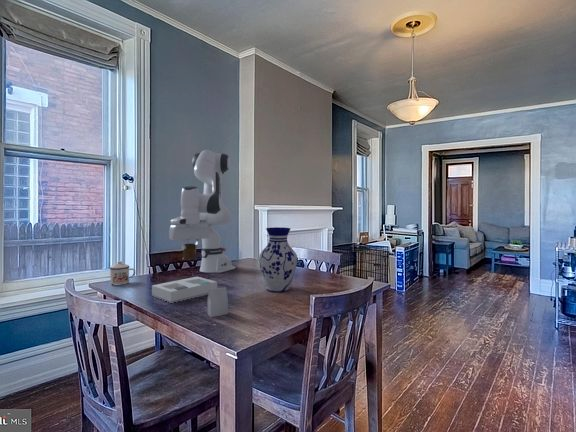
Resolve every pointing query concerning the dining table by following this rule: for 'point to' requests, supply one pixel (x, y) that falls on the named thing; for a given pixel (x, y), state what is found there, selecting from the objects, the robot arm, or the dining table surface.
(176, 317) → the dining table surface
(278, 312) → the dining table surface
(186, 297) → the socket box
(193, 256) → the utensil holder
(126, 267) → the teacup with lid
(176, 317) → the dining table surface
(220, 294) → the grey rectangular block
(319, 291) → the dining table surface
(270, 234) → the vase
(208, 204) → the robot arm
